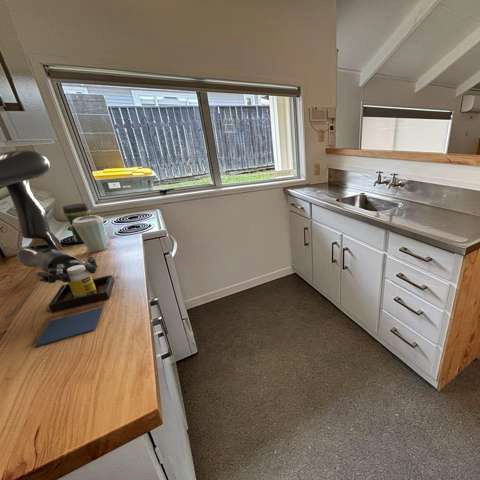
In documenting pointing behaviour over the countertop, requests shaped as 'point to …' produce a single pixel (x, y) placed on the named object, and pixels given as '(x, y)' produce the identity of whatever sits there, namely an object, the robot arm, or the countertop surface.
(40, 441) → the countertop surface
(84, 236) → the disposable coffee cup
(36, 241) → the rock
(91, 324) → the mat
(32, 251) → the robot arm
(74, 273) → the supplement bottle
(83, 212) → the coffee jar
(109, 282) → the dark serving tray
